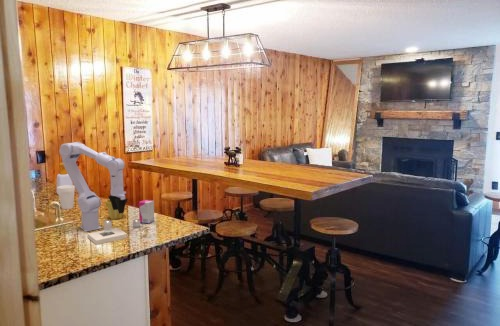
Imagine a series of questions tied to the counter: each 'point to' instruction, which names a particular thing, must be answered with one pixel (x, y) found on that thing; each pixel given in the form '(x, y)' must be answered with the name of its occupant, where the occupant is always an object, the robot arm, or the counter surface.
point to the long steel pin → (107, 227)
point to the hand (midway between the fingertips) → (118, 211)
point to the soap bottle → (63, 177)
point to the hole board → (100, 238)
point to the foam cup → (66, 196)
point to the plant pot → (113, 211)
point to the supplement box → (146, 211)
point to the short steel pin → (136, 223)
